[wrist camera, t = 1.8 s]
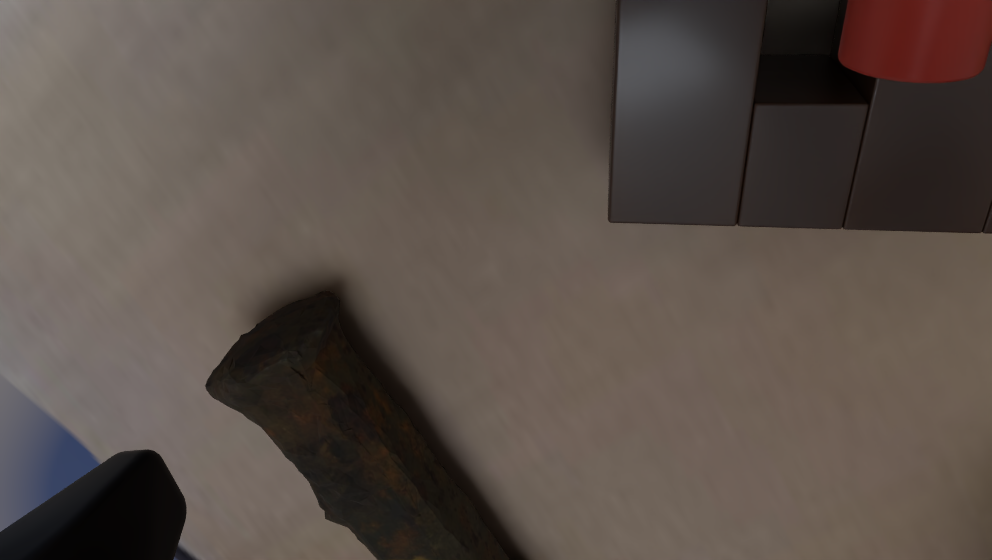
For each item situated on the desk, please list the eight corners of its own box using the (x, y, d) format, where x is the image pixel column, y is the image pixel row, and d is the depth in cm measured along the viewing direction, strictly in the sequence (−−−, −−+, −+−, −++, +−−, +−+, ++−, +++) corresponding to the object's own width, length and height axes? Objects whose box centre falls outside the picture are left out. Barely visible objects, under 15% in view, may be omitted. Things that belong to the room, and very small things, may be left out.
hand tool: (238, 313, 25) (166, 411, 21) (341, 270, 23) (285, 368, 20) (509, 663, 33) (494, 782, 29) (599, 647, 31) (595, 769, 27)
